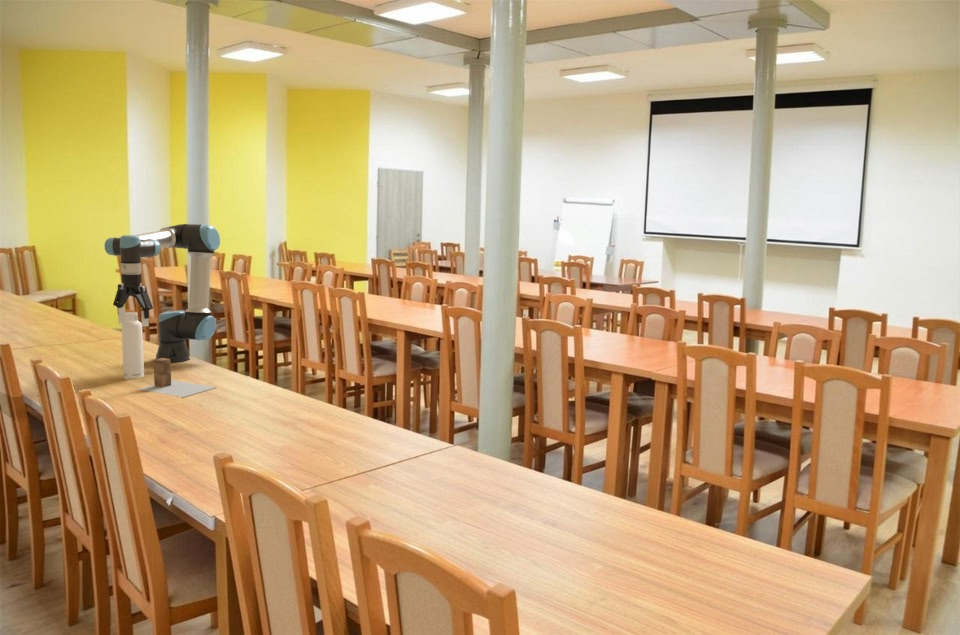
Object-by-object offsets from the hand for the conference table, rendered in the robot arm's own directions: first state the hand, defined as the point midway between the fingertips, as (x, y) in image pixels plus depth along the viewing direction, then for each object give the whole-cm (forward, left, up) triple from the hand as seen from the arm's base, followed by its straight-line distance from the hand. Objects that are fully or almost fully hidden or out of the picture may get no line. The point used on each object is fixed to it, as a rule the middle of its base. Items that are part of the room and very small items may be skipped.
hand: (133, 324), depth 312 cm
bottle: (-6, -8, -25) cm, 27 cm away
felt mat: (0, +23, -25) cm, 33 cm away
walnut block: (0, +15, -24) cm, 28 cm away
